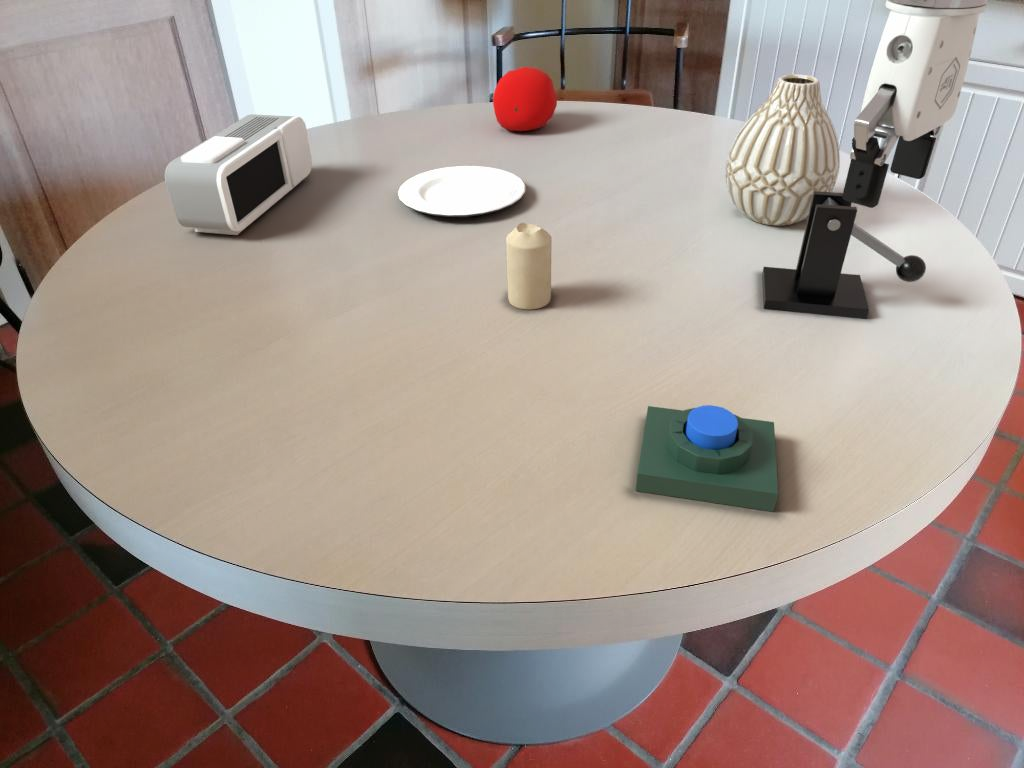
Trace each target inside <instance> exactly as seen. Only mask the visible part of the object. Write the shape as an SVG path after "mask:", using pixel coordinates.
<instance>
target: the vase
mask: <svg viewBox="0 0 1024 768" xmlns="http://www.w3.org/2000/svg"><path fill="white" fill-rule="evenodd" d="M820 84H821V83H820V80H819V78H817V77H815V76H812V75H807V74H797V73H795V74H785V75H781V76H780V77H778V79H777V80H776V83H775V84H774V87H773V88H772V91H771V92H770V94H769V96H768V97H767V98H766V100H765V101H764V102H763V103H762V104H761V105H760V106H759V107H758V108H757V109H756V110H755V111H754V112H753V113H752V114H751V115H750V117H749V118H748V119H747V120H746V122H745V123H744V124H743V125H742V126H741V128H740V130H739V132H738V133H737V135H736V137H735V139H734V140H733V143H732V145H731V147H730V150H729V153H728V155H727V159H726V163H725V164H726V165H725V183H726V188H727V192H728V195H729V197H730V199H731V201H732V203H733V204H734V206H735V207H736V209H738V211H739V212H740V213H741V214H743V216H745V217H746V218H747V219H749V220H751V221H752V222H755V223H758V224H762V225H768V226H777V227H778V226H779V227H781V226H782V227H783V226H789V225H795V224H797V223H799V222H801V221H803V220H806V219H808V214H809V210H810V205H811V201H812V197H813V192H814V191H819V192H833V191H834V188H835V186H836V184H837V181H838V178H839V173H840V168H841V155H840V145H839V139H838V135H837V132H836V130H835V129H836V128H835V126H834V124H833V122H832V118H831V117H830V115H829V113H828V111H827V110H826V108H825V105H824V103H823V99H822V93H821V85H820Z"/></svg>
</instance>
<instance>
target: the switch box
mask: <svg viewBox="0 0 1024 768" xmlns="http://www.w3.org/2000/svg"><path fill="white" fill-rule="evenodd" d="M695 408H696V407H691V408H687V409H683V410H682V409H675V408H666V407H658V406H651V405H648V406H647V410H646V416H645V422H644V428H643V435H642V441H641V446H640V447H641V448H640V453H639V458H638V459H639V460H638V465H637V472H636V481H635V492H640V493H647V494H653V495H660V496H667V497H674V498H680V499H686V500H693V501H699V502H700V501H701V502H707V503H714V504H721V505H727V506H733V507H739V508H740V507H741V508H745V509H746V508H747V509H753V510H760V511H766V512H774V511H775V507H776V504H777V501H778V495H779V487H778V485H779V484H778V468H777V451H776V450H777V449H776V434H775V431H776V430H775V422H774V421H769V420H761V419H753V418H746V417H745V418H744V417H741V416H739V415H736V414H734V415H735V417H736V418H737V421H738V428H737V433H736V438H735V441H734V443H733V444H732V445H731V446H730V447H728V448H725V449H721V450H711V449H704V448H701V447H699V446H697V445H695V444H693V443H692V442H690V440H689V439H688V438H687V435H686V427H687V420H688V415H689V413H690V412H691V411H692V410H693V409H695Z"/></svg>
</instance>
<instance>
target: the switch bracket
mask: <svg viewBox="0 0 1024 768" xmlns="http://www.w3.org/2000/svg"><path fill="white" fill-rule="evenodd" d="M842 195H843V192H833V191H832V192H819V191H814V192H813V197H812V201H811V205H810V210H809V214H808V217H807V218H806V223H805V229H804V233H803V237H802V241H801V245H800V250H799V255H798V258H797V264H796V267H795V268H786V267H785V268H784V267H773V266H763V268H762V273H761V283H762V304H763V309H765V310H772V311H784V312H795V313H803V314H805V313H806V314H813V315H814V314H815V315H824V316H825V315H826V316H833V317H844V318H853V319H854V318H855V319H864V320H865V319H866V320H867V319H868V316H869V313H870V307H869V303H868V300H867V296H866V293H865V292H866V291H865V288H864V285H863V281H862V277H861V275H860V274H853V273H842V270H843V267H844V263H845V259H846V256H847V251H848V249H849V248H848V247H849V244H850V241H851V236H852V235H851V233H852V229H853V225H854V224H855V221H856V217H857V214H858V208H857V206H852V204H853V203H852V202H848V201H845V200H844V199H843V198H842ZM828 197H829V198H831V199H832V200H834V201H835V202H837V203H838V204H840V205H841V206H835V205H822V204H823V203H824V202H825V201H826V199H827V198H828Z"/></svg>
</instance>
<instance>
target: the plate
mask: <svg viewBox="0 0 1024 768" xmlns="http://www.w3.org/2000/svg"><path fill="white" fill-rule="evenodd" d="M525 194H526V184H525V182H524V181H523V180H522V178H520V177H519V176H518V175H516V174H514V173H513V172H509V171H507V170H504V169H501V168H495V167H490V166H479V165H456V166H447V167H440V168H434V169H431V170H427V171H425V172H421V173H418V174H416V175H414V176H412V177H410V178H408V179H407V180H406V181H404V182H403V184H401V185H400V186H399V189H398V192H397V196H398V199H399V201H400V203H402V204H403V205H404V206H406V207H407V208H408V209H411V210H413V211H416V212H418V213H422V214H426V215H430V216H436V217H447V218H470V217H478V216H483V215H486V214H490V213H495V212H499V211H501V210H504V209H506V208H509V207H511V206H513V205H514V204H515V203H517V202H519V201H520V200H521V199H522V198H523V196H524V195H525Z"/></svg>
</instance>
